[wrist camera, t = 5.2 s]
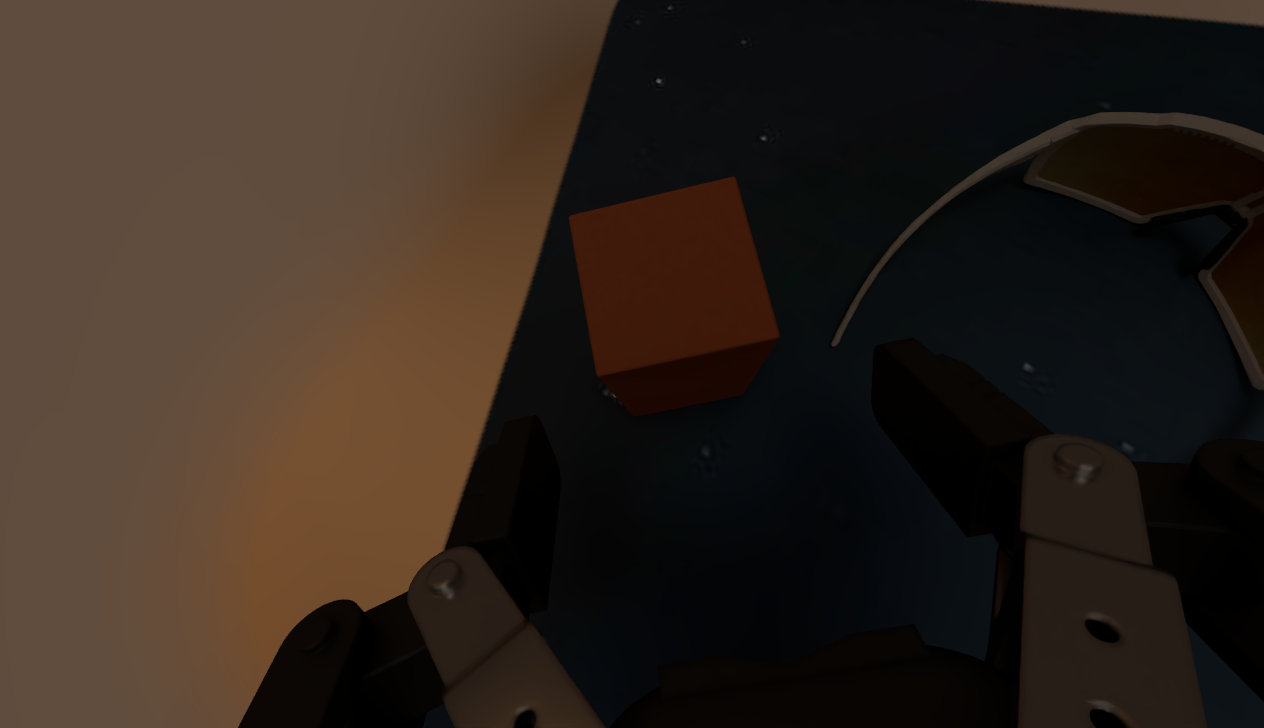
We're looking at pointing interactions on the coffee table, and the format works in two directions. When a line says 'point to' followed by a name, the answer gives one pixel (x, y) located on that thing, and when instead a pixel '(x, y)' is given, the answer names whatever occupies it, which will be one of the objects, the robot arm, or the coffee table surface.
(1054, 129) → the sunglasses
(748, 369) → the post
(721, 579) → the coffee table surface
